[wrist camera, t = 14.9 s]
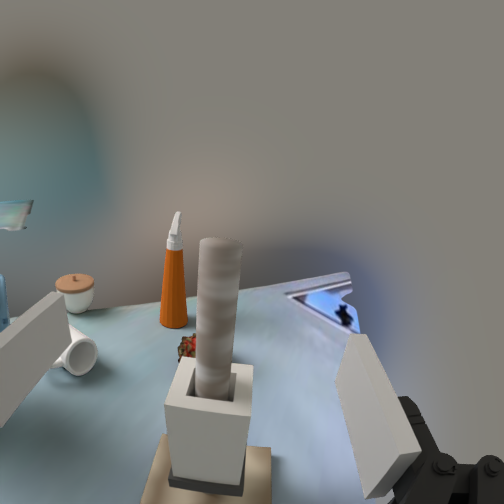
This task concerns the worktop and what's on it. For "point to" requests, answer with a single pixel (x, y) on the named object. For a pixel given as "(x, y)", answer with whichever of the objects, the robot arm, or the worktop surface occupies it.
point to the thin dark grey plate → (208, 484)
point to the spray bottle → (174, 280)
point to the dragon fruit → (187, 347)
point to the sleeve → (208, 426)
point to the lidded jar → (76, 291)
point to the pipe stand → (213, 376)
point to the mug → (78, 354)
